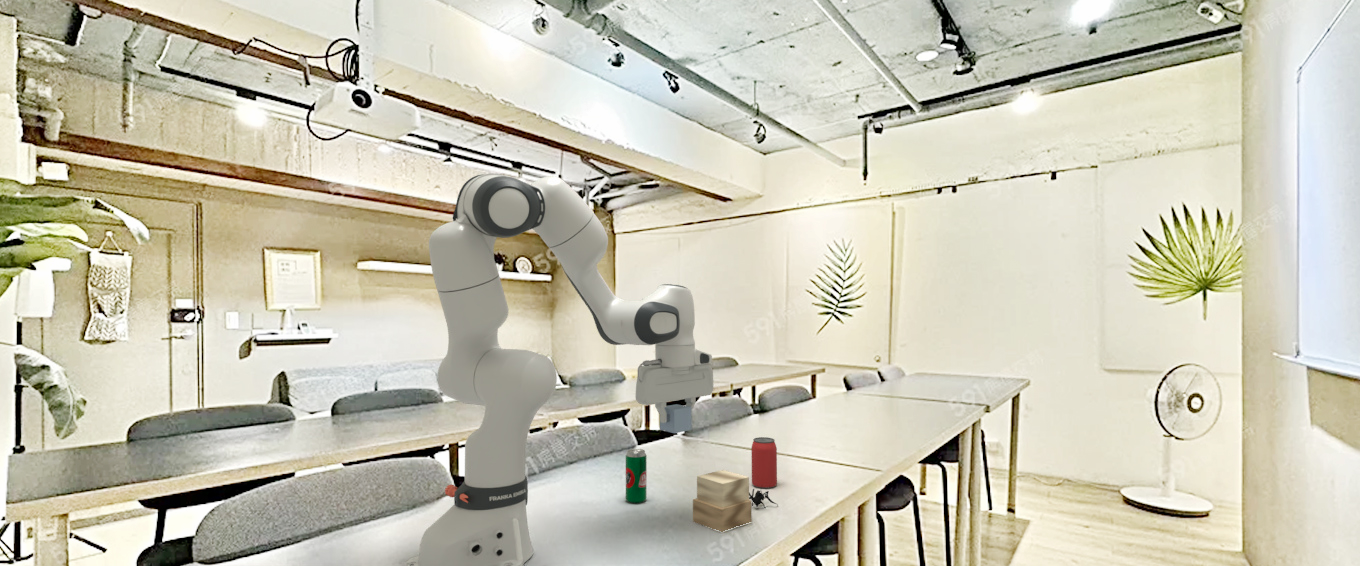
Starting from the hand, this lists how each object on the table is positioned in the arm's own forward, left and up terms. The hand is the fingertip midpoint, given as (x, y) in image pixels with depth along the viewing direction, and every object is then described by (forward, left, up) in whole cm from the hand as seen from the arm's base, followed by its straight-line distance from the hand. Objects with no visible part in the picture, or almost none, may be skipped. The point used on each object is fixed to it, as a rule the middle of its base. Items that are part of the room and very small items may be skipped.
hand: (676, 420), depth 136 cm
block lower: (+7, -8, -22) cm, 24 cm away
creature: (+21, -6, -22) cm, 31 cm away
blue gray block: (0, 0, -2) cm, 2 cm away
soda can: (+1, +17, -22) cm, 28 cm away
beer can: (+34, +5, -22) cm, 41 cm away
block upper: (+7, -8, -17) cm, 20 cm away
